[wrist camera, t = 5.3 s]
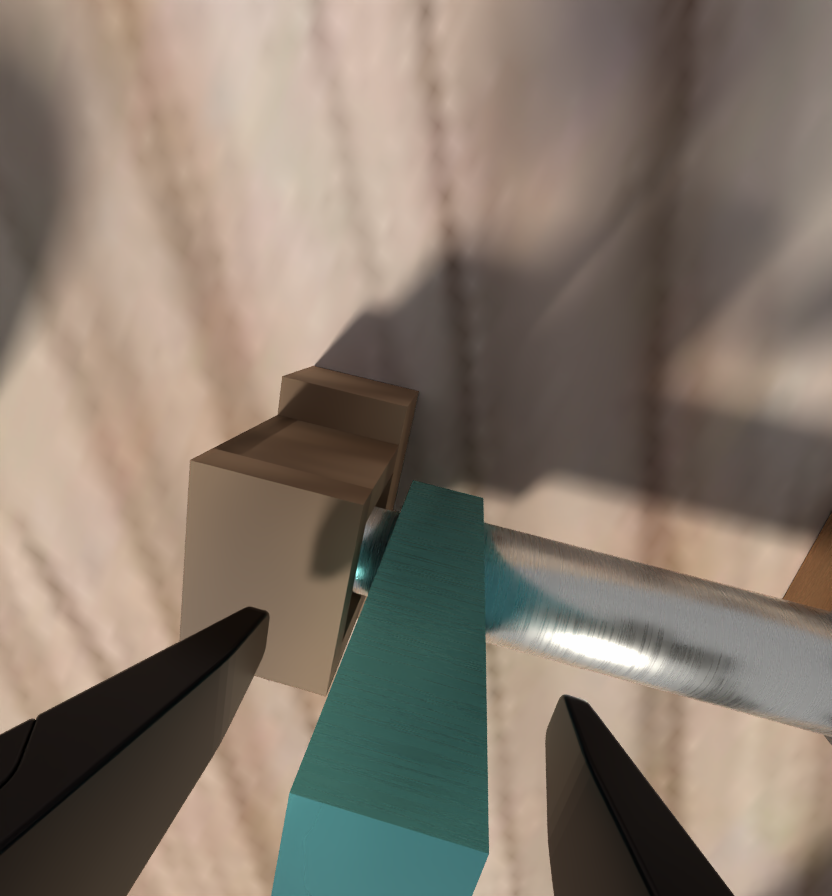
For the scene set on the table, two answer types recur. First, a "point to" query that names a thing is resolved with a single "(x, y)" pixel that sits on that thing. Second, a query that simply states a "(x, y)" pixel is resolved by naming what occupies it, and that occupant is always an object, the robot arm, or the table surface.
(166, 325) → the table surface
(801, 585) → the sleeve
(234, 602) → the socket
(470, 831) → the teal block on rod
